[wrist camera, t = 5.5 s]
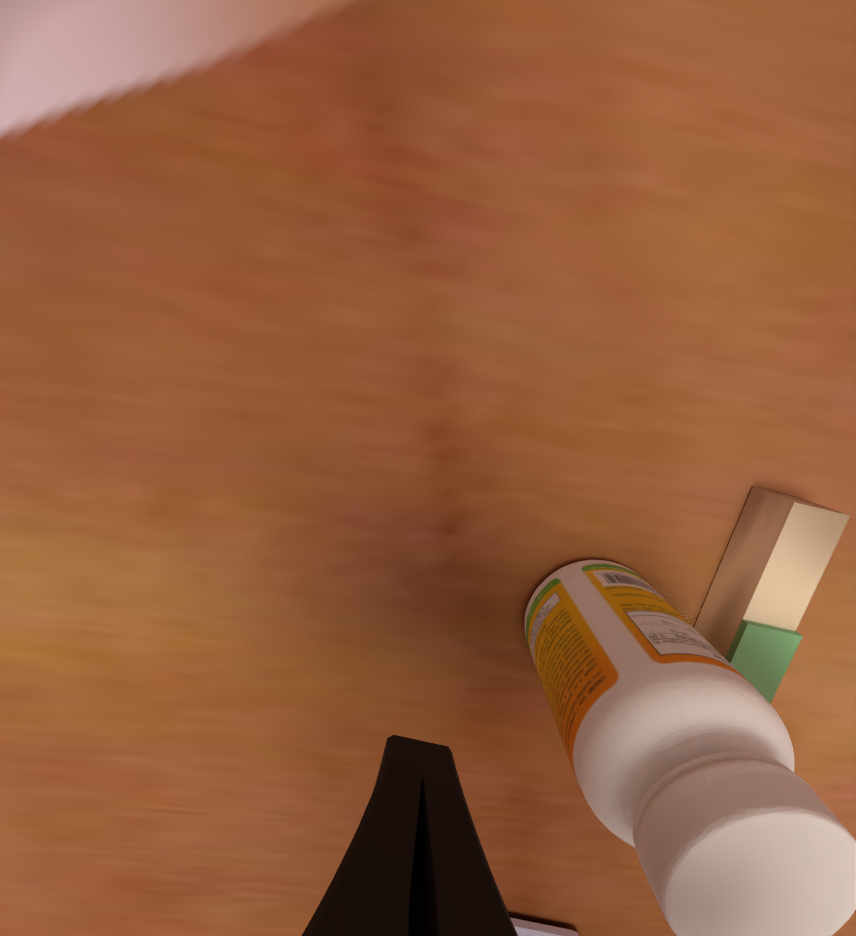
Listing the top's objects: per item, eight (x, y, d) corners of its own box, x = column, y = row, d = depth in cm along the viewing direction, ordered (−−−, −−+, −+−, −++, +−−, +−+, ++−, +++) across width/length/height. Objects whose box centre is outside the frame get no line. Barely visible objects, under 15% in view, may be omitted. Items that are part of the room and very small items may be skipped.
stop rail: (673, 788, 20) (703, 841, 18) (630, 778, 20) (655, 831, 18) (802, 498, 17) (859, 518, 15) (751, 486, 17) (801, 504, 14)
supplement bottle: (551, 692, 19) (676, 1022, 9) (500, 588, 18) (586, 845, 8) (671, 644, 18) (933, 942, 9) (627, 534, 17) (874, 740, 8)
